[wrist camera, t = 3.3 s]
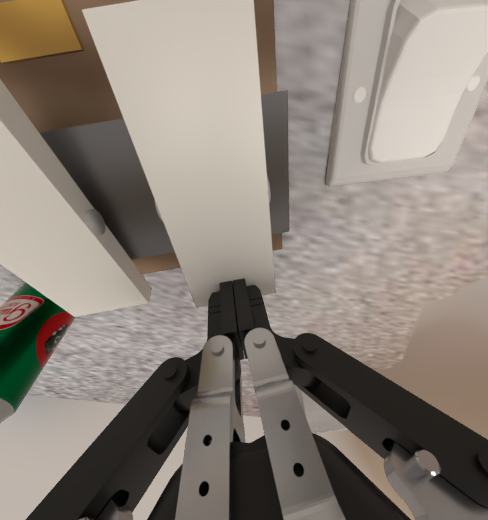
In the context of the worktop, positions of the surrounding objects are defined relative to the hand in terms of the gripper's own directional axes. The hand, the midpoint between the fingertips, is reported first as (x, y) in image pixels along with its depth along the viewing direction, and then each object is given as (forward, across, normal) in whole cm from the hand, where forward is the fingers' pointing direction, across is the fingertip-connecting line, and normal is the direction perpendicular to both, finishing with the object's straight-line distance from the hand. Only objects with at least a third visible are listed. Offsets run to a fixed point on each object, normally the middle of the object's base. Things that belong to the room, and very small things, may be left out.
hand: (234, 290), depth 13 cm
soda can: (+10, +18, +4) cm, 21 cm away
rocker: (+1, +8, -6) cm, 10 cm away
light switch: (+10, -15, -8) cm, 20 cm away
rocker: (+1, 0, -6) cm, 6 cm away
